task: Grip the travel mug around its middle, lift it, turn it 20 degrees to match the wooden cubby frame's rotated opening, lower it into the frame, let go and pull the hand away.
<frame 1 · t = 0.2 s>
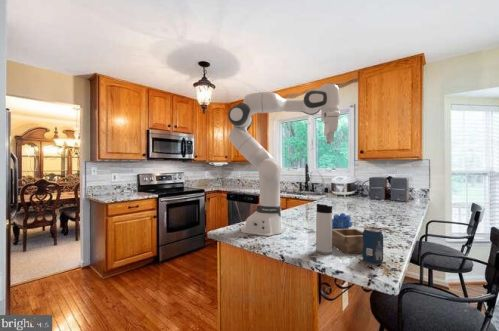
hand: (329, 143, 120), 47 cm above the worktop, tool pointing down, fingers open, 8 cm apart
travel mug: (323, 252, 96), on the worktop
soda can: (372, 261, 88), on the worktop
grapes: (339, 236, 120), on the worktop
wooden cubby frame: (349, 248, 102), on the worktop
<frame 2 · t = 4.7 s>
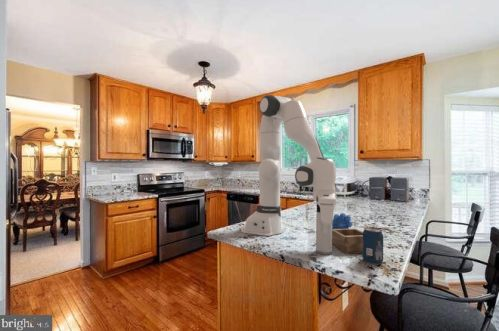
hand: (323, 230, 96), 9 cm above the worktop, tool pointing down, fingers closed on travel mug, 6 cm apart
travel mug: (323, 252, 96), on the worktop, touching gripper
everything else where it was.
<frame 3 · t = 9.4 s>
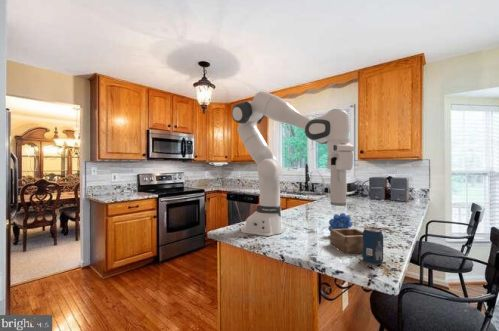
hand: (338, 180, 99), 29 cm above the worktop, tool pointing down, fingers closed on travel mug, 6 cm apart
travel mug: (338, 205, 99), point 19 cm above the worktop, touching gripper
everything else where it was.
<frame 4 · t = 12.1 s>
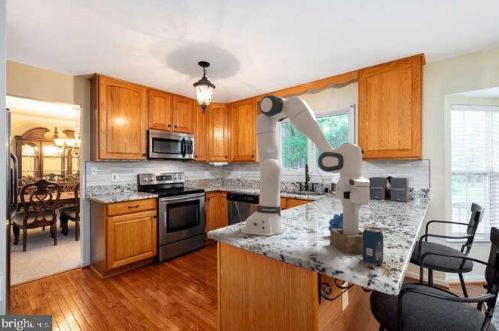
hand: (350, 212, 102), 16 cm above the worktop, tool pointing down, fingers closed on travel mug, 6 cm apart
travel mug: (350, 237, 102), point 5 cm above the worktop, touching gripper
everything else where it was.
when the fingers open (11 cm above the worktop, at t = 14.3 s): travel mug stays where it is, resting on wooden cubby frame.
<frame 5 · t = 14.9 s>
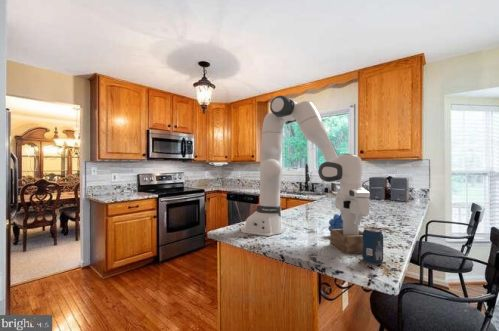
hand: (350, 222, 102), 11 cm above the worktop, tool pointing down, fingers open, 8 cm apart
travel mug: (350, 246, 102), point 1 cm above the worktop, touching wooden cubby frame
everything else where it was.
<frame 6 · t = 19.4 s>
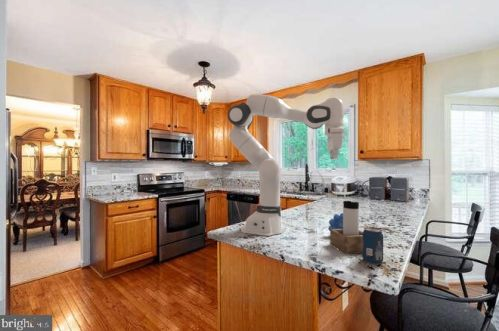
hand: (333, 159, 116), 39 cm above the worktop, tool pointing down, fingers open, 8 cm apart
nothing on the worktop moved.
at the end: travel mug 0.2 cm off-centre on the wooden cubby frame, point 0.6 cm above the wooden cubby frame's base; travel mug tilted 0°; the gripper is holding nothing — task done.
